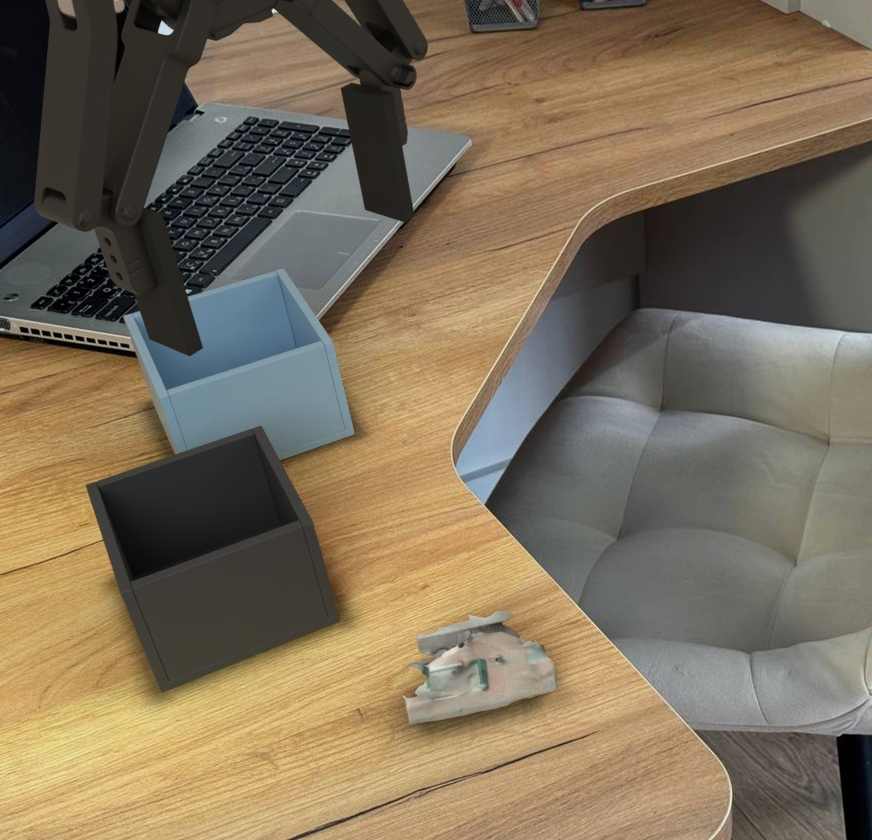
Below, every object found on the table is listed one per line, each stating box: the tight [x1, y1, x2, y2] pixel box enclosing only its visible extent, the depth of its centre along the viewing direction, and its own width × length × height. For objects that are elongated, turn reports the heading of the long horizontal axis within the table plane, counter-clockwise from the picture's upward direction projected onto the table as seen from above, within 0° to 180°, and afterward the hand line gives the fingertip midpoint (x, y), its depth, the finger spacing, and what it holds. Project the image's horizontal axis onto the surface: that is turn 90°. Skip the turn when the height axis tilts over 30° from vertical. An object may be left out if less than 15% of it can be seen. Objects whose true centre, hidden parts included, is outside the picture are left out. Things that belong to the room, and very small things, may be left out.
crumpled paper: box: [402, 610, 558, 726], centre depth 68 cm, size 4×8×7 cm, turn 106°
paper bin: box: [122, 268, 355, 461], centre depth 89 cm, size 11×11×8 cm
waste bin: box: [85, 426, 341, 693], centre depth 74 cm, size 10×10×8 cm
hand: (290, 274), depth 62 cm, fingers open, 13 cm apart
